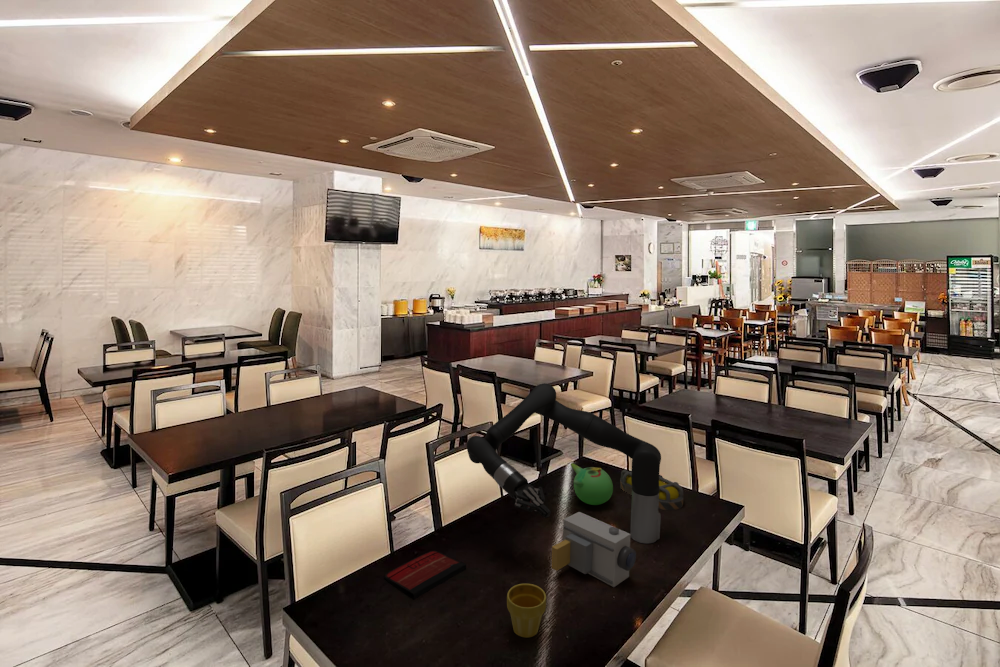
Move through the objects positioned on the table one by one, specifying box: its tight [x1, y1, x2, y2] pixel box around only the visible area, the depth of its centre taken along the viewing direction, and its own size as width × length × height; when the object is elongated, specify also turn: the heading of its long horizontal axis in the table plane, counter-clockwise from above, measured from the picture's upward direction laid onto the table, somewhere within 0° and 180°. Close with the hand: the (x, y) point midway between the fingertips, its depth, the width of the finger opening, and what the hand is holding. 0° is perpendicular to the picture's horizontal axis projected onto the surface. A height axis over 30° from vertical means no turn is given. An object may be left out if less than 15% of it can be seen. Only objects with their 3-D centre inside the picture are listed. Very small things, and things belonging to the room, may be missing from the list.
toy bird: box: [570, 462, 614, 506], centre depth 211 cm, size 18×17×15 cm
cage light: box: [619, 469, 684, 511], centre depth 218 cm, size 15×8×30 cm
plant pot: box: [506, 583, 547, 638], centre depth 136 cm, size 10×10×10 cm
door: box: [551, 533, 592, 575], centre depth 159 cm, size 10×8×9 cm
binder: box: [384, 550, 467, 600], centre depth 162 cm, size 16×2×21 cm
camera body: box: [562, 511, 637, 588], centre depth 163 cm, size 9×23×15 cm, turn 43°
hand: (548, 515), depth 162 cm, fingers closed
